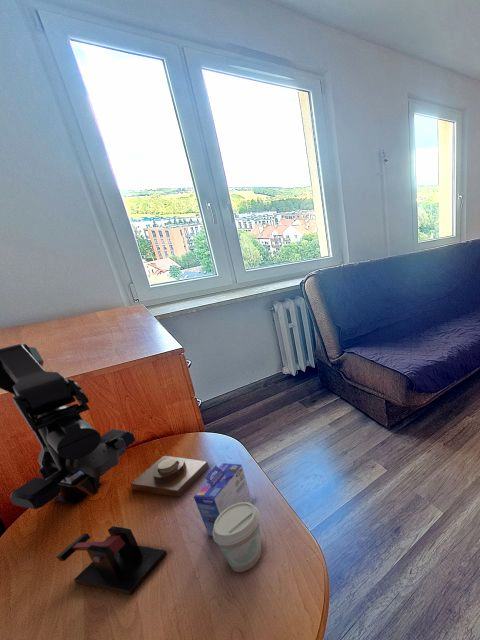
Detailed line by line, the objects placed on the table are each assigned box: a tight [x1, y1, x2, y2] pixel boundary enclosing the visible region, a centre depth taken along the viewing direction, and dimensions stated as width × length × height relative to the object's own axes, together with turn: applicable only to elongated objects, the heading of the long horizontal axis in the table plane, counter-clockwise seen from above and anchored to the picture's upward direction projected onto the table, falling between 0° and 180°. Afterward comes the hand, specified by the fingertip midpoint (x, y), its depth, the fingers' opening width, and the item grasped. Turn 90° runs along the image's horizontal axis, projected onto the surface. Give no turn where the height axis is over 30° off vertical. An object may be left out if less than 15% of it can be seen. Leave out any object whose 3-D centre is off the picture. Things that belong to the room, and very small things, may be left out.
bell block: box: [130, 455, 210, 498], centre depth 90 cm, size 14×10×4 cm
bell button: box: [158, 458, 178, 474], centre depth 89 cm, size 4×4×2 cm
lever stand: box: [73, 525, 168, 596], centre depth 68 cm, size 13×8×9 cm, turn 81°
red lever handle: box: [56, 532, 125, 562], centre depth 68 cm, size 13×5×2 cm, turn 81°
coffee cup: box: [212, 502, 262, 573], centre depth 69 cm, size 8×8×12 cm
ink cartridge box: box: [193, 462, 253, 537], centre depth 77 cm, size 10×6×14 cm, turn 174°
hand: (94, 494), depth 72 cm, fingers closed
